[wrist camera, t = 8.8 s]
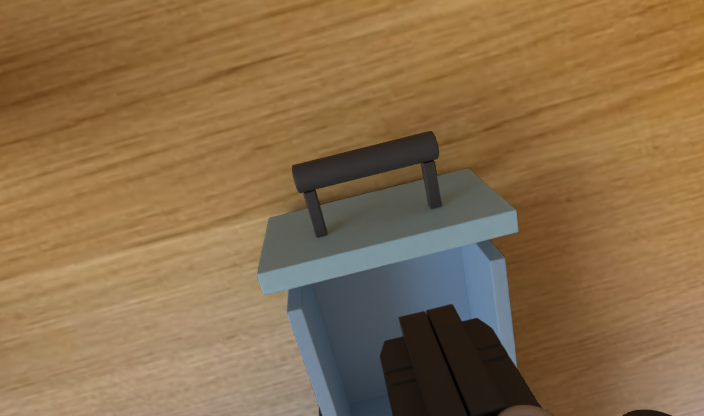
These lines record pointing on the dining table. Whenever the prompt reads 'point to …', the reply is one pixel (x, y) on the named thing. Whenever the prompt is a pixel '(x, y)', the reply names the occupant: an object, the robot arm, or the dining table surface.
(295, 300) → the drawer
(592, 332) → the dining table surface
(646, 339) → the dining table surface
